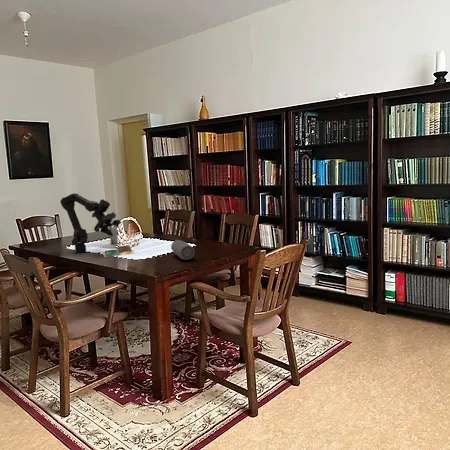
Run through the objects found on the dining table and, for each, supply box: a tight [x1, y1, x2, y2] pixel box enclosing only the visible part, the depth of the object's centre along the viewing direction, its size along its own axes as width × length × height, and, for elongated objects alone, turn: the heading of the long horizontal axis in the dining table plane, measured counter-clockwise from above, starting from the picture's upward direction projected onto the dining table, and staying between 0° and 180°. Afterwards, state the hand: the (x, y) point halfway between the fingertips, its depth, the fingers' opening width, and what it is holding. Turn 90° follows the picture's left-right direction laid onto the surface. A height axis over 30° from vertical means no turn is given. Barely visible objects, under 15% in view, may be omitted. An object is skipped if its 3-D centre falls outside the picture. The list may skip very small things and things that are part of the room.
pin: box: [108, 225, 119, 246], centre depth 273 cm, size 4×4×12 cm
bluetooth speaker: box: [170, 239, 195, 261], centre depth 258 cm, size 23×9×10 cm, turn 21°
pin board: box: [101, 245, 136, 258], centre depth 279 cm, size 19×18×4 cm
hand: (115, 235), depth 273 cm, fingers closed on pin, 4 cm apart
